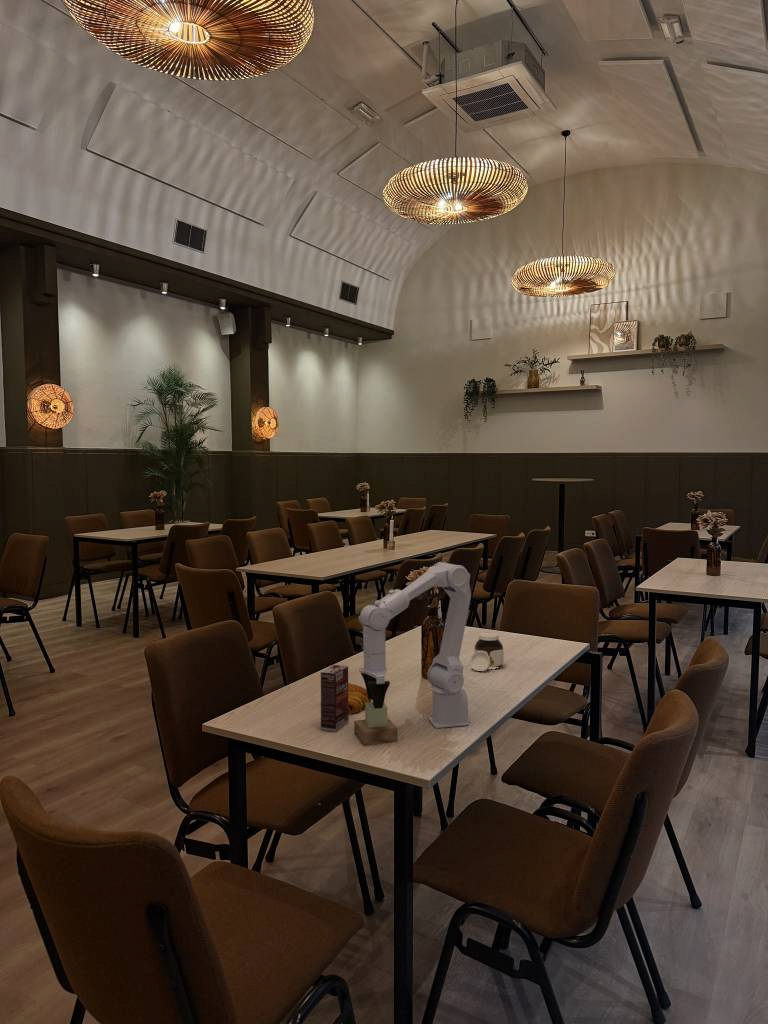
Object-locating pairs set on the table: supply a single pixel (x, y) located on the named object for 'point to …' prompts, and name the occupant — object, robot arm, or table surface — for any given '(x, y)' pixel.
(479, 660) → the spread jar
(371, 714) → the cube
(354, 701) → the croissant
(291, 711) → the table surface
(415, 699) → the table surface
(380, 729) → the block
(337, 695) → the supplement box
